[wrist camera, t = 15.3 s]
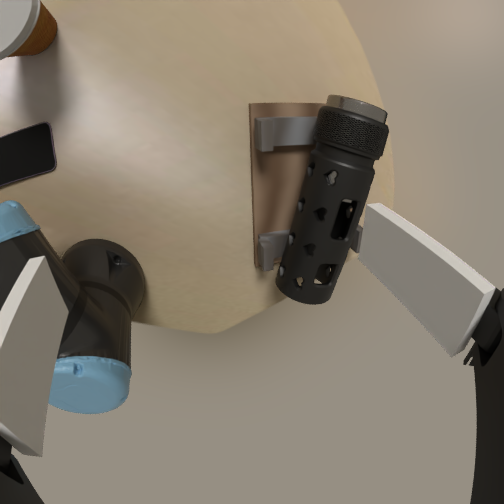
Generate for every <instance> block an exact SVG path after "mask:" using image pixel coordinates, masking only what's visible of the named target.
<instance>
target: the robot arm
mask: <svg viewBox="0 0 504 504" xmlns="http://www.w3.org/2000/svg"><path fill="white" fill-rule="evenodd" d="M40 229H41V228H40V226H39V225H36V224H35V222H34V221H33V220H32V218H31V217H30V216H29V215H28V213H27V212H26V210H25V209H24V207H23V206H22V205H21V204H20V203H18V202H16V201H12V200H10V201H5V202H3V203H1V204H0V504H44V502H43V501H42V499H41V498H40V497H39V495H38V494H37V492H36V490H35V489H34V487H33V486H32V484H31V483H30V481H29V479H28V478H27V476H26V474H25V473H24V471H23V469H22V468H21V466H20V464H19V462H18V461H17V459H16V458H15V457H14V455H12V454H11V449H12V446H13V447H14V448H15V449H17V450H18V451H19V452H21V453H22V454H24V455H30V456H39V457H42V450H43V439H44V430H45V422H46V414H47V407H48V403H49V404H51V405H53V406H55V407H57V408H59V409H62V410H65V411H69V412H74V413H82V414H98V413H104V412H108V411H111V410H113V409H116V408H117V407H119V406H120V405H121V404H123V403H124V401H125V400H126V399H127V396H128V393H129V383H130V377H131V375H132V372H131V363H130V362H131V320H132V318H133V316H134V314H135V313H136V311H137V309H138V307H139V306H140V304H141V302H142V299H143V295H144V275H143V271H142V268H141V266H140V264H139V263H138V261H137V260H136V258H135V257H134V256H133V255H132V254H131V253H130V252H129V251H128V250H127V249H125V248H124V247H122V246H120V245H118V244H116V243H114V242H111V241H108V240H103V239H89V240H84V241H81V242H78V243H76V244H75V245H73V246H72V247H70V248H69V249H68V250H67V251H66V252H65V254H64V255H63V257H62V259H60V257H59V256H58V255H57V253H56V252H55V251H54V249H53V248H52V246H51V245H50V244H49V242H48V241H47V239H46V238H45V236H44V235H43V233H42V232H41V230H40ZM358 259H359V261H361V262H362V263H363V264H364V265H365V266H366V267H367V268H368V269H369V270H370V271H371V272H372V273H373V274H374V275H375V276H376V277H377V278H378V279H379V280H380V281H381V282H382V283H383V284H384V285H385V286H386V287H387V288H388V289H389V290H390V291H391V292H392V293H393V294H394V296H395V297H397V299H398V300H399V301H400V302H401V303H402V304H403V305H404V306H405V307H406V308H407V309H408V310H409V311H410V312H411V313H412V314H413V315H414V317H416V319H417V320H418V321H419V322H420V323H421V324H422V325H423V326H424V327H425V328H426V329H427V331H428V332H429V333H430V334H431V335H432V336H433V337H434V338H435V339H436V341H437V342H438V343H439V344H440V345H441V346H442V347H443V348H444V350H446V352H447V353H448V354H449V355H450V356H451V357H453V356H455V355H456V354H458V353H459V352H461V351H463V350H464V349H465V347H466V345H467V344H468V342H469V340H470V338H471V337H472V338H473V339H474V340H475V343H474V345H473V346H472V348H471V350H470V351H469V353H468V355H467V356H466V358H465V359H464V365H466V364H467V362H468V361H469V359H470V358H471V357H473V359H472V360H471V362H470V364H469V365H470V366H474V372H475V385H476V406H477V438H476V440H477V441H476V458H475V471H474V480H473V488H472V496H471V502H470V504H504V288H503V289H502V291H500V290H498V289H497V288H496V287H495V286H494V285H492V284H491V283H490V282H489V281H488V280H486V279H485V278H484V277H483V276H481V275H480V274H479V273H478V272H477V271H475V270H474V269H473V268H471V267H470V266H469V265H468V264H466V263H465V262H464V261H463V260H461V259H460V258H459V257H458V256H456V255H454V254H453V253H452V252H451V251H449V250H448V249H447V248H445V247H444V246H443V245H441V244H440V243H439V242H437V241H436V240H434V239H433V238H432V237H430V236H429V235H427V234H426V233H424V232H423V231H421V230H420V229H419V228H417V227H416V226H414V225H413V224H411V223H410V222H408V221H407V220H405V219H404V218H402V217H401V216H399V215H398V214H396V213H395V212H393V211H392V210H390V209H389V208H387V207H386V206H384V205H382V204H381V203H374V204H366V211H365V219H364V226H363V233H362V239H361V245H360V251H359V257H358Z"/></svg>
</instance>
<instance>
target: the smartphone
mask: <svg viewBox="0 0 504 504" xmlns="http://www.w3.org/2000/svg"><path fill="white" fill-rule="evenodd" d="M55 167H56V156H55V150H54V144H53V136H52V129H51V125H50V124H49V123H48V122H43V123H39V124H36V125H33V126H30V127H27V128H24V129H21V130H18V131H15V132H13V133H10V134H7V135H5V136H2V137H0V186H2V185H5V184H8V183H11V182H14V181H17V180H21V179H24V178H27V177H31V176H34V175H38V174H41V173H45V172H49V171H51V170H53V169H54V168H55Z"/></svg>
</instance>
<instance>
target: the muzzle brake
mask: <svg viewBox="0 0 504 504" xmlns="http://www.w3.org/2000/svg"><path fill="white" fill-rule="evenodd" d="M386 118H387V112H386V111H384V110H382V109H381V108H378V107H376V106H374V105H371V104H368V103H366V102H363V101H359V100H356V99H352V98H349V97H344V96H339V95H329V96H328V99H327V103H326V106H322V107H321V108H320V109H319V112H318V116H317V120H316V124H315V128H314V132H313V135H314V140H315V141H317V144H316V148H315V149H314V150H312V151H311V152H310V156H309V160H308V164H307V168H306V172H305V176H304V179H303V183H302V187H301V191H300V194H299V198H298V202H297V206H296V209H295V213H294V217H293V220H292V224H291V228H290V231H289V235H288V238H287V242H286V245H285V249H284V252H283V256H282V259H281V263H280V266H279V270H278V273H277V277H276V285H277V287H278V288H279V289H280V291H281V292H282V293H284V294H285V295H286V296H288V297H289V298H291V299H293V300H295V301H298V302H301V303H305V304H315V305H316V304H322V303H325V302H326V301H328V300H329V299H330V297H331V295H332V293H333V290H334V287H335V285H336V282H337V279H338V277H339V275H340V272H341V270H342V267H343V265H344V262H345V260H346V257H347V254H348V250H349V248H350V246H351V243H352V241H353V238H354V235H355V232H356V229H357V226H358V223H359V220H360V217H361V215H362V212H363V209H364V206H365V203H366V200H367V197H368V194H369V190H370V186H371V184H372V181H373V178H374V175H375V170H374V169H373V165H374V161H375V160H379V158H380V157H381V156H382V155H383V151H384V148H385V144H386V141H387V137H388V133H389V129H388V126H387V125H386V124H385V122H386ZM350 209H352V211H350ZM330 268H331V272H330ZM298 277H302V278H303V282H302V283H301V285H302V286H299V285H298V282H297V279H296V278H298ZM314 279H317V280H318V281H320V282H321V283H322V284H315V283H314Z"/></svg>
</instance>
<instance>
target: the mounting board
mask: <svg viewBox="0 0 504 504" xmlns="http://www.w3.org/2000/svg"><path fill="white" fill-rule="evenodd" d="M322 106H326V104H321V103H253V104H249V122H250V151H251V180H252V209H253V239H254V264H255V266H256V267H257V266H261V267H262V269H263V270H264V271H269V270H273V266H274V263H279V262H281V259H282V256H283V252H284V249H285V245H286V242H287V238H288V235H289V231H290V228H291V224H292V220H293V217H294V213H295V209H296V206H297V202H298V198H299V194H300V191H301V187H302V183H303V179H304V176H305V172H306V168H307V164H308V160H309V156H310V152H311V151H312V150H314V149H315V148H316V144H317V141H315V140H314V135H313V132H314V128H315V124H316V120H317V116H318V112H319V109H320V108H321V107H322ZM350 211H352V209H350ZM362 233H363V228H362V227H361V226H360V225H359V224H358V226H357V229H356V232H355V235H354V238H353V241H352V243H351V246H350V248H351V249H352V250H353V251H355V252H356V253H359V251H360V245H361V239H362Z"/></svg>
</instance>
